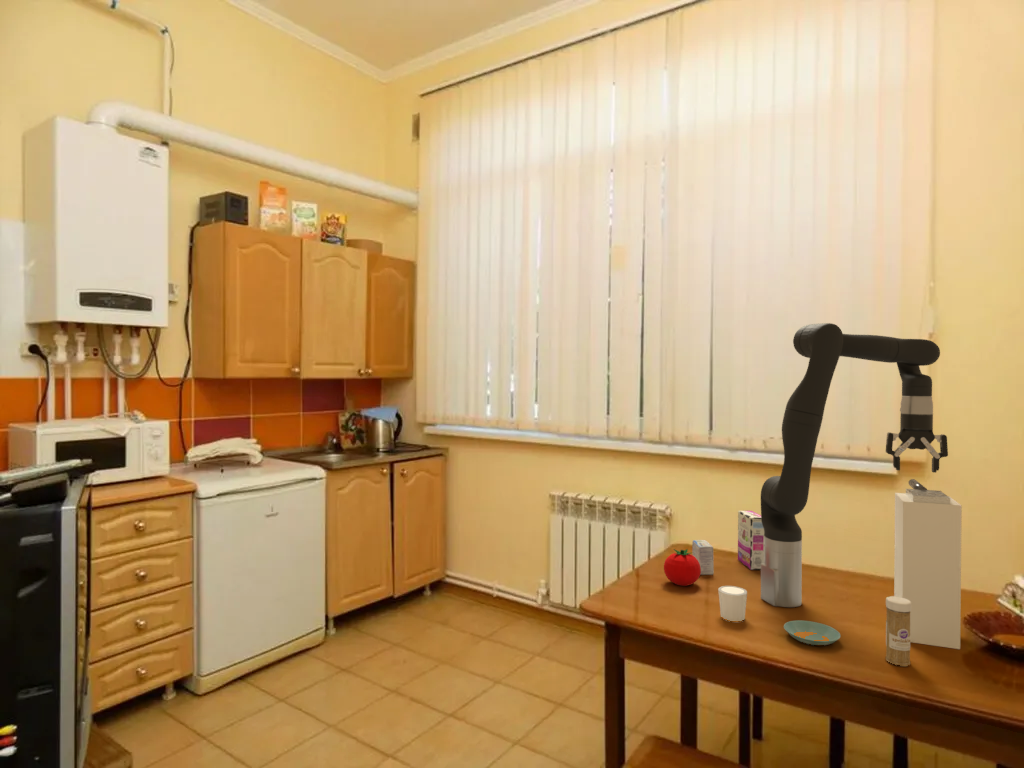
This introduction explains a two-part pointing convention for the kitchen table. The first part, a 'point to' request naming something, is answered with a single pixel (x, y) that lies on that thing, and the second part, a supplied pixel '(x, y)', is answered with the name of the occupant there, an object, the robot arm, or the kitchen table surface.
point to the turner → (925, 494)
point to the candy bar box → (750, 539)
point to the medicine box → (703, 556)
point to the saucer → (812, 627)
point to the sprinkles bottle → (898, 630)
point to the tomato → (682, 568)
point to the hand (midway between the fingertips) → (915, 471)
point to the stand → (929, 568)
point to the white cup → (732, 602)
